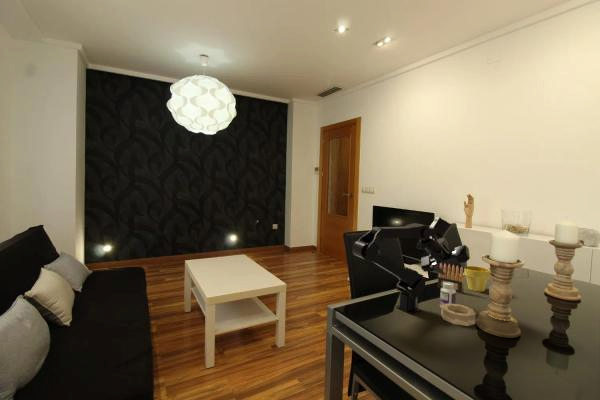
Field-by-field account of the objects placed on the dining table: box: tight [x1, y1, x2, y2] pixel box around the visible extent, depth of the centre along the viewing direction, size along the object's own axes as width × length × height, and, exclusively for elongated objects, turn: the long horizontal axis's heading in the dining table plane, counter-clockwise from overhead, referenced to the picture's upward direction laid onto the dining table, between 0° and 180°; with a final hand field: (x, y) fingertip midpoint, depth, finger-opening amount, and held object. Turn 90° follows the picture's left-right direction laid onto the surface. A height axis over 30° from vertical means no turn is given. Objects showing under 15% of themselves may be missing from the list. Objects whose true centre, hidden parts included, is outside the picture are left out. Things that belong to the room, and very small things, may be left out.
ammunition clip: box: [437, 262, 464, 294], centre depth 137 cm, size 11×2×12 cm, turn 45°
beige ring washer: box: [440, 303, 477, 327], centre depth 106 cm, size 10×10×4 cm
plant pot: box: [463, 265, 491, 293], centre depth 138 cm, size 10×10×10 cm
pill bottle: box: [439, 281, 457, 309], centre depth 116 cm, size 5×5×10 cm
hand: (455, 271), depth 121 cm, fingers open, 9 cm apart
